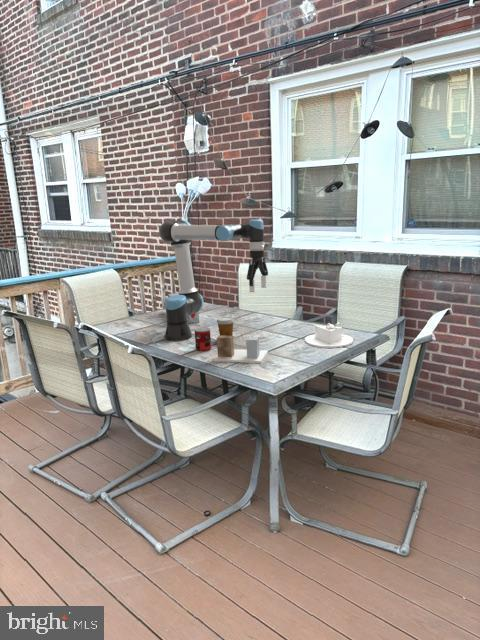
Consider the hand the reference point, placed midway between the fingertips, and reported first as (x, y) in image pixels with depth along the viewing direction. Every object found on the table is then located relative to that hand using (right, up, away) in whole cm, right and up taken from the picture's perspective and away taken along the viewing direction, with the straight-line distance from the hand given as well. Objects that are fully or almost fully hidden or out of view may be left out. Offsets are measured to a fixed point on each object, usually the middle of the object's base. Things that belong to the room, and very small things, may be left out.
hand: (258, 289), depth 247 cm
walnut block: (-16, -34, -25) cm, 45 cm away
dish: (+37, -28, -3) cm, 46 cm away
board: (-10, -34, -22) cm, 42 cm away
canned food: (-29, -31, -8) cm, 43 cm away
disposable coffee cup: (-17, -27, +7) cm, 33 cm away
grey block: (-3, -34, -26) cm, 43 cm away
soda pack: (-47, -15, +63) cm, 80 cm away
